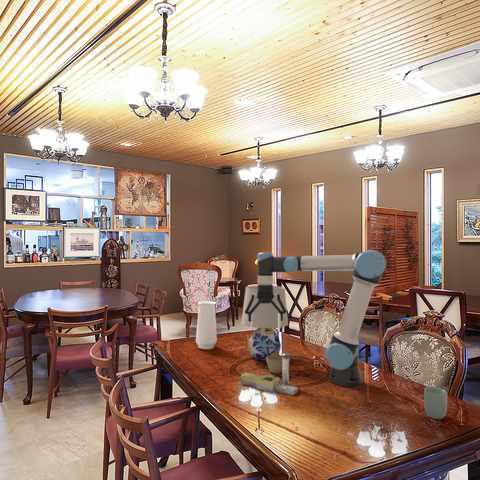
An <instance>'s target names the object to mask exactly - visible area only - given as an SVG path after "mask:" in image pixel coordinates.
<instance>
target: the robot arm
mask: <svg viewBox="0 0 480 480" xmlns="http://www.w3.org/2000/svg"><path fill="white" fill-rule="evenodd" d="M256 264H257V265H256V267H257V286H258V294H257V295H253V294H252V295H251V299H250V301H249V303H248V306H247V308H246V310H245V314H248V320H249V322H251V327H250V330H251V329H252V330H253V329H254V327H253V315H252V313H253V312H254V310H255V309H256V308H257V307H258V305H259V304H260V303H262V304H265V303H267V304H269V303H270V302H271V304H272V305H273V306H274V307H275V308H276V309H277V311H278V312H279V313H280V314H278V327H279V329H281V328H282V327H281V321H283V314H284V313H286V309H285V307H284V305H283V303H282V302H281V300H280V295H279V294H275V295H274V294H273V286H274V285H273V283H274V273H288V274H289V273H296V272H349V271H350V272H352V279H353V284H352V287H351V290H350V293H349V297H348V299H347V302H346V304H345V308H344V311H343V314H342V317H341V321H340V324H339V326H338V330H337V331H335V332H333V334H332V336H331V340H330V342H329V346H327V347H326V350H325V359H326V361H327V363H328V364H329V365H330V367H331V369H330V372H329V376H328V377H329V378H328V380H329V382H330V383H332V384H333V385H337V386H340V387H349V388H350V387H351V388H352V387H354V388H355V387H359V386H361V385H362V384H363V377H362V373H361V370H360V368H359V367H360V366H359V346H360V345H359V344H360V340H359V333H360V331H361V327H362V326H363V325H362V324H363V321H364V319H365V315H366V312H367V309H368V306H369V303H370V300H371V297H372V295H373V293H374V289H375V287H377V286H379V285H380V284H381V283H380V282H381V280H382V277H383V274H384V271H386V270H385V269H386V268H387V259H386V257H385V255H384V254H383V253H382V252H381V251H379V250H373V249H367V250H364V251H362V252H355V253H353V254H342V255H341V254H337V255H328V254H327V255H291V256H274V255H273V252H259V253H258V254H257V262H256ZM256 297H257V298H258V301H257V303H256V304H255V305H254V306H253V307H252V309H251V310H250V311H249V309H250V307H251V305H252V303H253V300H254V299H255V298H256ZM274 297H275V298H276V299H277V300H278V302H279V304H280V306H281V308H282V310H283V311H281V310H280V309H279V308H278V306H277V305H276V304H275V303H274V302H273V301H272V299H273V298H274ZM248 311H249V312H248Z"/></svg>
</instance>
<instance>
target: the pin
mask: <svg viewBox="0 0 480 480" xmlns="http://www.w3.org/2000/svg"><path fill="white" fill-rule="evenodd" d="M281 356H282V357H283V362H282V371H281V375H282V377H281V379H282V381H281V384H284V385H288V386H290V381H289V379H290V358H291V354H290V353H288V352H282V353H281Z"/></svg>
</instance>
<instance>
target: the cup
mask: <svg viewBox="0 0 480 480" xmlns="http://www.w3.org/2000/svg"><path fill="white" fill-rule="evenodd" d="M423 402H424V411H425V413H426V415H427V416H428V417H429V418H431V419H435V420H442V419H444V418H445V417H446V415H447V409H448V392H447V390H445V389H443V388H440V387H435V386H427V387H426V386H425V387H424V391H423Z"/></svg>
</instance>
